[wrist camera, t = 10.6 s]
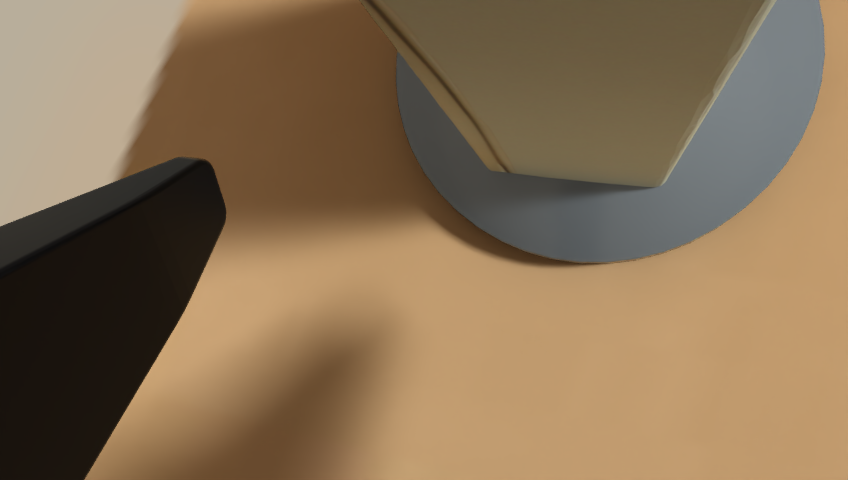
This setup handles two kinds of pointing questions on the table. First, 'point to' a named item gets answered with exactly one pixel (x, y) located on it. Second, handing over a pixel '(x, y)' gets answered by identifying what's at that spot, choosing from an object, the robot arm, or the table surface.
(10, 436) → the robot arm
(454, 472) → the table surface
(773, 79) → the charcoal coaster
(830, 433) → the table surface
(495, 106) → the skincare box
